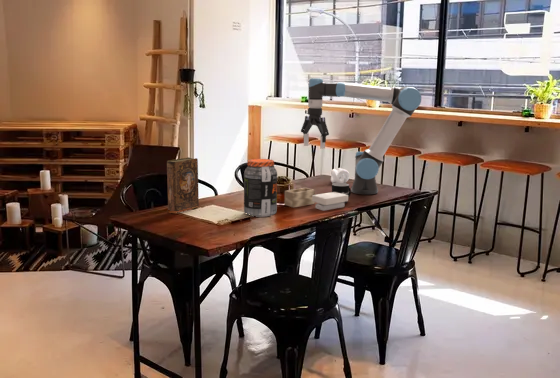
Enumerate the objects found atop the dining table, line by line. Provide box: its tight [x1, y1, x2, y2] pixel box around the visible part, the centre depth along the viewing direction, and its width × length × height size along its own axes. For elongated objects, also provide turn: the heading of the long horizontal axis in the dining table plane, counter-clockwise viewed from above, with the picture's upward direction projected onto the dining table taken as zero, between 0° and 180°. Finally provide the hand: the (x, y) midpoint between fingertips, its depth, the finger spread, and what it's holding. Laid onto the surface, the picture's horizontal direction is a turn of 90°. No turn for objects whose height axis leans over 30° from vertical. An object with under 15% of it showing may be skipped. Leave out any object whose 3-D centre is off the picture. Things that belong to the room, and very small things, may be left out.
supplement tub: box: [243, 158, 278, 218], centre depth 272 cm, size 16×16×26 cm
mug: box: [331, 182, 352, 204], centre depth 297 cm, size 12×9×10 cm
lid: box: [312, 191, 349, 205], centre depth 284 cm, size 15×10×4 cm, turn 128°
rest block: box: [314, 202, 346, 212], centre depth 285 cm, size 14×6×3 cm, turn 128°
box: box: [284, 187, 316, 208], centre depth 291 cm, size 14×7×8 cm, turn 128°
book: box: [166, 156, 200, 211], centre depth 276 cm, size 16×6×25 cm, turn 145°
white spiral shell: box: [330, 167, 350, 184], centre depth 349 cm, size 11×12×9 cm
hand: (314, 147), depth 311 cm, fingers open, 13 cm apart
